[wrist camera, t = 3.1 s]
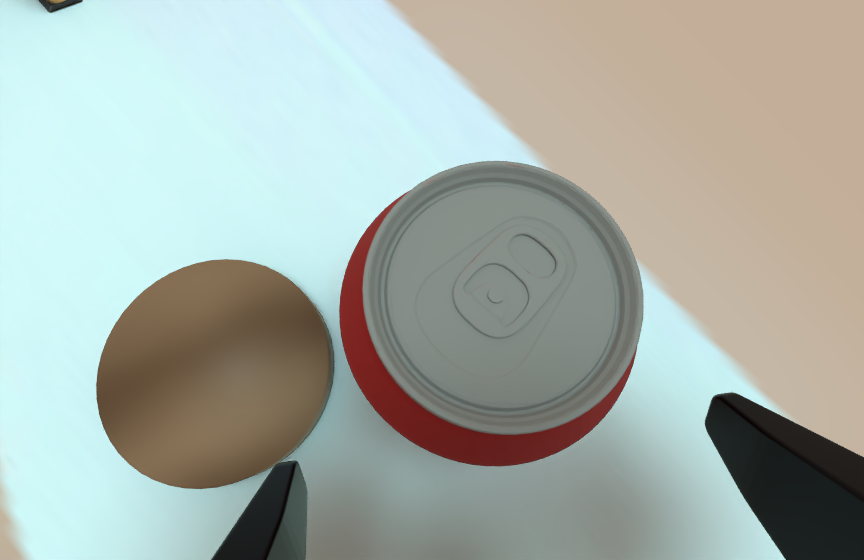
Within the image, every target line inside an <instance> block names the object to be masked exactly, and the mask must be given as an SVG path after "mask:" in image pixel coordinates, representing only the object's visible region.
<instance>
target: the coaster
mask: <svg viewBox="0 0 864 560" xmlns="http://www.w3.org/2000/svg"><path fill="white" fill-rule="evenodd" d="M333 373H334V353H333V347H332V341H331V337H330V334H329V331H328V328H327V326H326V324H325V321H324V319H323V317H322V315H321V314H320V312H319V311H318V309H317V308H316V306H315V305H314V304H313V303H312V302H311V300H310V299H309V298H308V297H307V296H306V295H305V294H304V293H303V292H302V291H301V290H300V289H299V288H298V287H297V286H296V285H295V284H294V283H293V282H291V281H290V280H289V279H288V278H286V277H284V276H283V275H281V274H280V273H278V272H276V271H274V270H272V269H270V268H268V267H266V266H262V265H259V264H256V263H253V262H247V261H242V260H227V259H225V260H211V261H206V262H201V263H196V264H193V265H190V266H187V267H183V268H181V269H179V270H177V271H174V272H172V273H170V274H168V275H166V276H165V277H163V278H161V279H160V280H158V281H156V282H155V283H154V284H152V285H151V286H150V287H148V288H147V289H146V290H144V291H143V292H142V293H141V294H140V295H139V296H138V297H137V298H136V299H135V300H134V301H133V302H132V303H131V304H130V305H129V306H128V307H127V309H126V310H125V311H124V312H123V314H122V315H121V316H120V318H119V319H118V321H117V322H116V324H115V325H114V327H113V329H112V331H111V333H110V335H109V337H108V339H107V341H106V344H105V346H104V349H103V352H102V355H101V359H100V363H99V367H98V374H97V383H96V387H97V403H98V409H99V415H100V418H101V421H102V424H103V427H104V430H105V432H106V434H107V436H108V438H109V440H110V442H111V443H112V444H113V446H114V447H115V449H116V450H117V452H118V453H119V454H120V455H121V456H122V457H123V458H124V459H125V460H126V461H127V462H128V463H129V464H130V465H131V466H132V467H134V468H135V469H136V470H138V471H139V472H140V473H142V474H144V475H146V476H148V477H149V478H151V479H153V480H155V481H158V482H161V483H164V484H167V485H170V486H175V487H181V488H192V489H204V488H214V487H220V486H224V485H229V484H233V483H235V482H238V481H241V480H243V479H246V478H249V477H251V476H254V475H256V474H259V473H261V472H263V471H265V470H267V469H269V468H271V467H273V466H274V465H276V464H277V463H279V462H280V461H282V460H283V459H285V458H286V457H287V456H289V455H290V454H291V453H292V452H293V451H294V450H295V449H296V448H297V447H299V446H300V444H301V443H302V442H303V441H304V440H305V439H306V438H307V436H308V435H309V434H310V433H311V431H312V430H313V428H314V427H315V425H316V424H317V422H318V420H319V418H320V416H321V415H322V413H323V411H324V409H325V406H326V403H327V400H328V398H329V395H330V391H331V386H332V382H333Z"/></svg>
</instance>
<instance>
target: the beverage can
mask: <svg viewBox="0 0 864 560" xmlns="http://www.w3.org/2000/svg"><path fill="white" fill-rule="evenodd" d="M339 312H340V329H341V337H342V342H343V347H344V351H345V354H346V358H347V361H348V364H349V366H350V369H351V371H352V374H353V376H354V378H355V380H356V382H357V384H358V386H359V387H360V389H361V390H362V392H363V394H364V395H365V397H366V398H367V400H368V401H369V402H370V404H371V405H372V406H373V408H374V409H375V410H376V411H377V412H378V413H379V415H380V416H381V417H382V418H383V419H384V420H385V421H386V422H387V423H388V424H389V425H390V426H392V427H393V428H394V429H395V430H396V431H397V432H399V433H400V434H401V435H403V436H404V437H405V438H407V439H408V440H410V441H411V442H413V443H415V444H416V445H418V446H420V447H422V448H424V449H426V450H428V451H429V452H431V453H434V454H437V455H439V456H442V457H444V458H447V459H451V460H454V461H457V462H462V463H467V464H472V465H481V466H509V465H518V464H523V463H528V462H532V461H536V460H539V459H543V458H545V457H548V456H550V455H553V454H555V453H557V452H559V451H561V450H563V449H565V448H567V447H569V446H570V445H572V444H574V443H575V442H577V441H578V440H580V439H581V438H582V437H584V436H585V435H586V434H587V433H589V432H590V431H591V430H592V429H593V428H594V427H595V426H596V425H597V424H598V423H599V422H600V421H601V420H602V419H603V418H604V417H605V416H606V414H607V413H608V412H609V411H610V409H611V408H612V406H613V405H614V404H615V402H616V401H617V399H618V397H619V395H620V394H621V392H622V390H623V388H624V386H625V384H626V382H627V380H628V377H629V375H630V372H631V369H632V366H633V363H634V359H635V355H636V350H637V344H638V341H639V337H640V332H641V327H642V321H643V289H642V282H641V277H640V272H639V269H638V265H637V262H636V259H635V257H634V254H633V252H632V249H631V247H630V245H629V243H628V241H627V239H626V237H625V236H624V234H623V232H622V231H621V229H620V227H619V226H618V225H617V224H616V222H615V221H614V219H613V218H612V217H611V215H610V214H609V213H608V212H607V211H606V210H605V209H604V208H603V207H602V206H601V205H600V204H599V203H598V202H597V201H596V200H595V199H594V198H593V197H592V196H590V195H589V194H588V193H587V192H585V191H584V190H583V189H581V188H580V187H578V186H577V185H575V184H574V183H572V182H570V181H569V180H567V179H565V178H563V177H561V176H559V175H557V174H555V173H552V172H550V171H547V170H544V169H542V168H539V167H535V166H531V165H527V164H522V163H516V162H507V161H485V162H476V163H470V164H465V165H460V166H457V167H454V168H451V169H448V170H445V171H443V172H440V173H438V174H436V175H434V176H432V177H430V178H428V179H427V180H425V181H423V182H421V183H420V184H418V185H417V186H416V187H414V188H413V189H412V190H410V191H408V192H407V193H405V194H403V195H402V196H401V197H399V198H398V199H396V200H395V201H394V202H392V203H391V204H390V205H389V206H388V207H387V208H385V209H384V210H383V211H382V212H381V213H380V214H379V215H378V216H377V218H376V219H375V220H374V221H373V222H372V223H371V225H370V226H369V227H368V228H367V230H366V231H365V233H364V234H363V236H362V237H361V238H360V240H359V242H358V244H357V246H356V247H355V249H354V251H353V254H352V256H351V258H350V260H349V263H348V266H347V269H346V272H345V275H344V279H343V283H342V289H341V296H340V309H339Z"/></svg>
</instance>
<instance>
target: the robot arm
mask: <svg viewBox="0 0 864 560" xmlns="http://www.w3.org/2000/svg"><path fill="white" fill-rule="evenodd" d="M705 427H706V430H707V433H708V435H709V436H710V438H711V440H712V442H713V444H714V445H715V447H716V449H717V451H718V453H719V454H720V456H721V458H722V460H723V462H724V463H725V465H726V467H727V469H728V471H729V472H730V474H731V476H732V478H733V480H734V481H735V483H736V485H737V487H738V488H739V490H740V492H741V494H742V495H743V497H744V499H745V500H746V502H747V503H748V505H749V506H750V508H751V509H752V511H753V512H754V514H755V515H756V517H757V518H758V520H759V521H760V523H761V524H762V525H763V527H764V528H765V530H766V531H767V533H768V534H769V536H770V537H771V539H772V540H773V542H774V543H775V545H776V546H777V547H778V549H779V550H780V552H781V553H782V555H783V556H784V558H785V559H786V560H864V457H862V456H860V455H858V454H856V453H854V452H852V451H850V450H848V449H846V448H844V447H842V446H840V445H838V444H836V443H834V442H832V441H830V440H828V439H826V438H824V437H822V436H820V435H818V434H816V433H814V432H812V431H810V430H808V429H806V428H804V427H802V426H800V425H798V424H796V423H794V422H792V421H790V420H789V419H787V418H785V417H783V416H781V415H779V414H777V413H775V412H773V411H771V410H769V409H767V408H765V407H763V406H761V405H759V404H757V403H755V402H753V401H751V400H749V399H747V398H745V397H743V396H741V395H739V394H736V393H724V394H717V395H715V396H714V397H713V398H712V400H711V403H710V406H709V410H708V413H707V416H706V419H705ZM306 526H307V487H306V483H305V480H304V477H303V474H302V471H301V468H300V465H299V463H298V462H297V461H288V462H281V463H278V464H277V465H275V467H274V468H273V469H272V471H271V472H270V474H269V475H268V477H267V478H266V480H265V481H264V483H263V484H262V486H261V487H260V488H259V490H258V491H257V493H256V494H255V496H254V497H253V499H252V500H251V502H250V503H249V505H248V506H247V508H246V509H245V511H244V512H243V513H242V515H241V516H240V518H239V519H238V521H237V522H236V524H235V525H234V527H233V528H232V530H231V531H230V533H229V534H228V536H227V537H226V539H225V540H224V541H223V543H222V544H221V546H220V547H219V549H218V550H217V552H216V553H215V555H214V556H213V558H212V559H211V560H305V558H306Z"/></svg>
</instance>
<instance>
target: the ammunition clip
mask: <svg viewBox="0 0 864 560" xmlns="http://www.w3.org/2000/svg"><path fill="white" fill-rule="evenodd" d="M77 1H80V0H39V2H40V3H41V4H42V5H43V6H44V7H45V8H46V9H47V10H48V11H52V10H55V9H58V8H61V7H63V6H66V5H69V4H72V3H75V2H77Z"/></svg>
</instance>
